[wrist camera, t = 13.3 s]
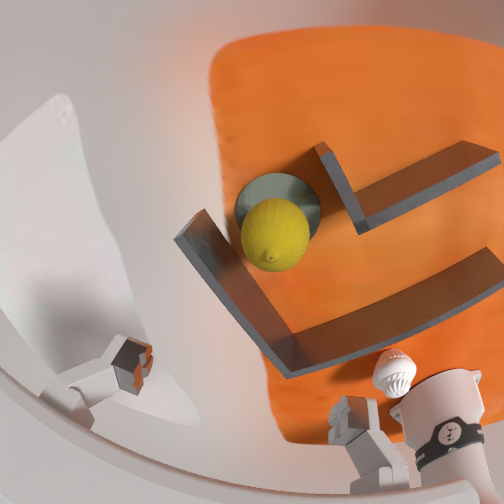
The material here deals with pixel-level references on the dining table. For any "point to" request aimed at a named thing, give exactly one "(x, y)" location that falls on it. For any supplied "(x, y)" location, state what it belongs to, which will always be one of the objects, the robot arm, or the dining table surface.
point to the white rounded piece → (394, 373)
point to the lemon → (275, 235)
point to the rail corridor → (364, 219)
